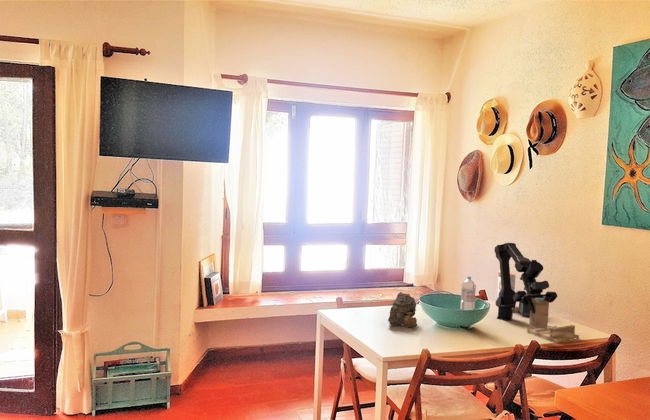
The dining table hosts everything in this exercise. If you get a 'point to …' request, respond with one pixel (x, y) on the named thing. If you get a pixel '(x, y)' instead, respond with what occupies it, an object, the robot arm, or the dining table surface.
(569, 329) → the cleat board
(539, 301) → the wooden block
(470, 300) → the water bottle
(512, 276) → the cracker box
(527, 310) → the small box
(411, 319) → the rock
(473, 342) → the dining table surface
